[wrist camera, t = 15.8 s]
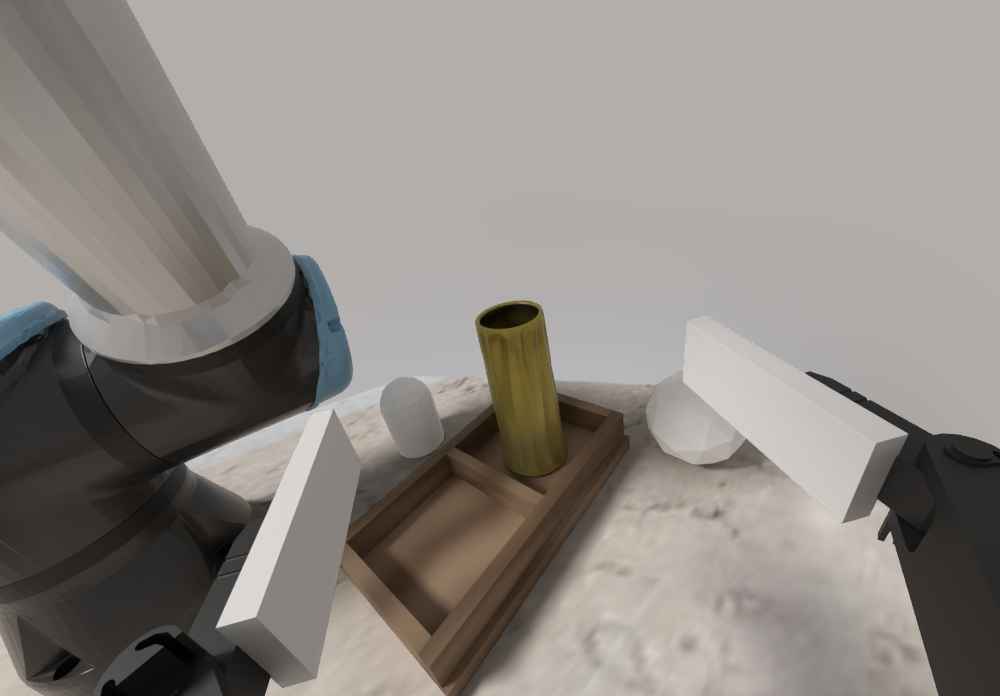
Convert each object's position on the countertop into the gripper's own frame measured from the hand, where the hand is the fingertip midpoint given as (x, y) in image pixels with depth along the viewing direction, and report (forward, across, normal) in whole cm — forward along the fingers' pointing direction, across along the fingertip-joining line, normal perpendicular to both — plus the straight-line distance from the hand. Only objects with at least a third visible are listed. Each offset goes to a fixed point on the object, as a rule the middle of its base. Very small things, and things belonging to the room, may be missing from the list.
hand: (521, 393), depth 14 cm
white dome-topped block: (+22, -10, -19) cm, 30 cm away
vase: (+14, +2, -18) cm, 23 cm away
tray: (+11, -2, -19) cm, 22 cm away
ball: (+11, +15, -19) cm, 27 cm away
